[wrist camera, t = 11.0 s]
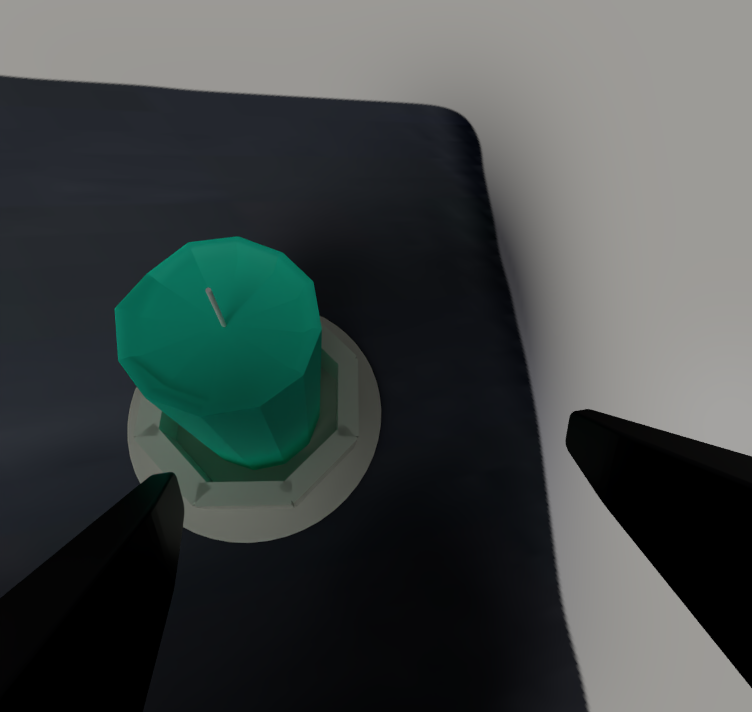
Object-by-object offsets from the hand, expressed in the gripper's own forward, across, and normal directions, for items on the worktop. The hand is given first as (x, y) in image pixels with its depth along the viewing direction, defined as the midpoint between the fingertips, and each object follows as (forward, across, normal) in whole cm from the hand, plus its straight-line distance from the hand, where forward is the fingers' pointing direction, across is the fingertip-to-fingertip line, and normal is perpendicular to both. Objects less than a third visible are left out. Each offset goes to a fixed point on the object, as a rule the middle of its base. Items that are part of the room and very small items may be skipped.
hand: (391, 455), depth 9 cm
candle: (+13, +4, +6) cm, 14 cm away
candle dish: (+13, +4, +6) cm, 15 cm away
